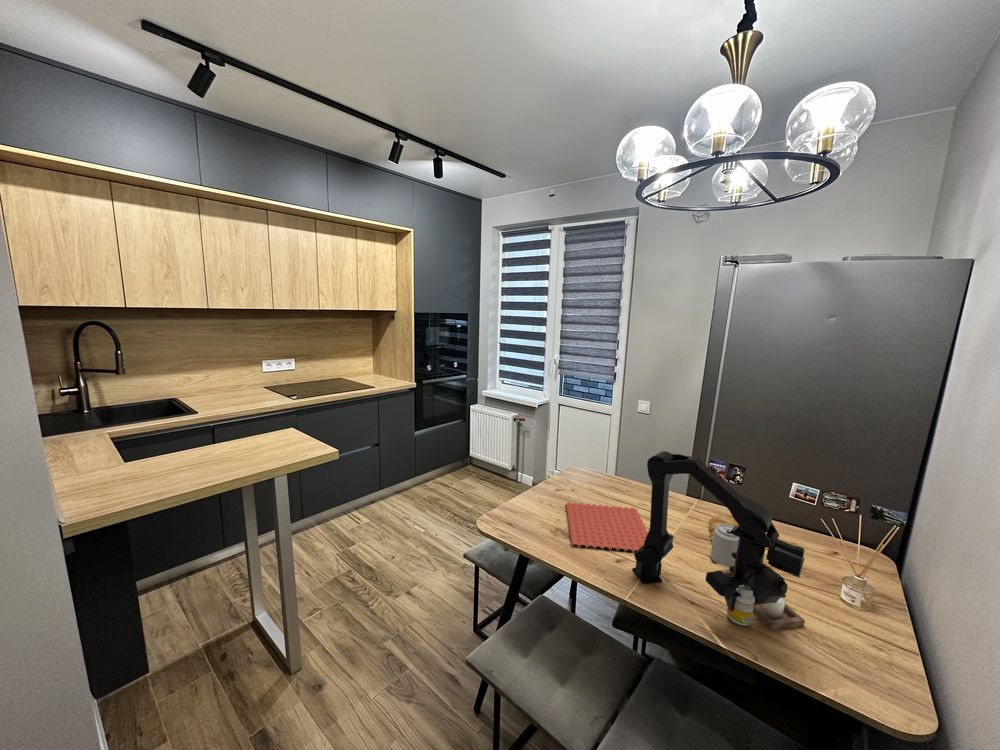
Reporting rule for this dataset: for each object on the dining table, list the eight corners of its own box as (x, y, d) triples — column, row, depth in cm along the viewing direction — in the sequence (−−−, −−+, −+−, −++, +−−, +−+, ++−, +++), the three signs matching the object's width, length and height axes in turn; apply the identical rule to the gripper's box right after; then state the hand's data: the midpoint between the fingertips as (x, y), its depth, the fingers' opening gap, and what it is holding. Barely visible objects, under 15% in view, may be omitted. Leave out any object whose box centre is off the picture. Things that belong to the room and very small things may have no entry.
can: (723, 571, 120) (728, 537, 118) (704, 556, 128) (709, 523, 125) (741, 567, 122) (747, 534, 120) (722, 553, 130) (728, 520, 127)
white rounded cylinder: (771, 621, 100) (774, 605, 99) (756, 607, 105) (758, 591, 104) (786, 619, 101) (790, 603, 100) (771, 605, 105) (774, 589, 104)
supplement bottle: (728, 606, 103) (734, 574, 102) (751, 617, 100) (758, 584, 98) (724, 618, 99) (730, 585, 98) (749, 630, 96) (755, 596, 94)
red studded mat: (635, 512, 155) (636, 507, 154) (656, 557, 127) (657, 551, 127) (565, 506, 157) (566, 501, 157) (571, 549, 130) (571, 543, 129)
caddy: (769, 634, 97) (771, 624, 97) (713, 579, 117) (715, 570, 116) (802, 630, 99) (805, 620, 98) (742, 576, 118) (743, 567, 118)
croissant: (720, 557, 133) (735, 544, 129) (695, 534, 138) (709, 520, 134) (738, 533, 147) (752, 520, 143) (715, 512, 152) (728, 500, 148)
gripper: (742, 581, 87) (732, 640, 90) (811, 574, 90) (799, 631, 93) (708, 550, 98) (699, 603, 101) (771, 545, 101) (761, 596, 104)
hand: (739, 609), depth 99 cm, fingers closed on supplement bottle, 5 cm apart
